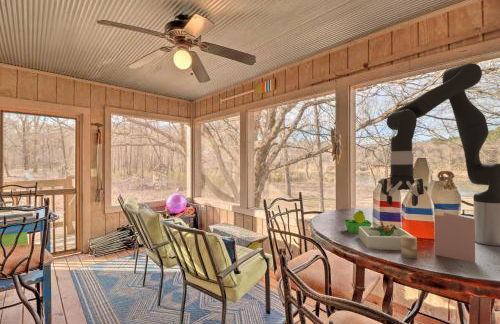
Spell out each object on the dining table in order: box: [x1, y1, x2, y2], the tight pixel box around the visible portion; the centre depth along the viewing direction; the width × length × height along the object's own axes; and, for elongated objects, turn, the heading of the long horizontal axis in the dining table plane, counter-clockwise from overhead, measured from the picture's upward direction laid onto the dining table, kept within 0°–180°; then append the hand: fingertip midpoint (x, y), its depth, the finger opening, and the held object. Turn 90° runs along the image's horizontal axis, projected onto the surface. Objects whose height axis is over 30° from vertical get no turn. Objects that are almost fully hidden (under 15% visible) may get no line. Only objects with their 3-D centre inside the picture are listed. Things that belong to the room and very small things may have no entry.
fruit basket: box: [344, 210, 372, 234], centre depth 130 cm, size 11×9×11 cm
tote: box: [358, 226, 413, 251], centre depth 112 cm, size 18×16×5 cm
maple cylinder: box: [400, 235, 418, 260], centre depth 97 cm, size 5×5×7 cm
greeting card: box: [433, 212, 476, 263], centre depth 95 cm, size 11×7×15 cm, turn 12°
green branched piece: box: [370, 220, 397, 237], centre depth 114 cm, size 3×12×8 cm, turn 85°
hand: (402, 205), depth 100 cm, fingers open, 8 cm apart
